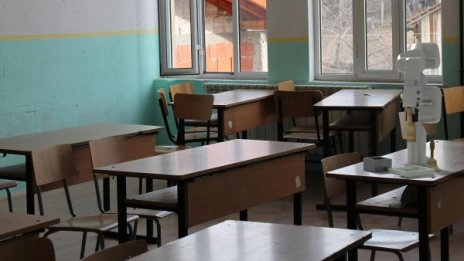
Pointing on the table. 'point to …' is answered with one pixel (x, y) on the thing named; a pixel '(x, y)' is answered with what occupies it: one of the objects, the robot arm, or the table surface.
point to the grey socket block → (377, 164)
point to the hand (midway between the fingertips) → (411, 121)
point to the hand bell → (432, 158)
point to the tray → (408, 172)
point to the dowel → (410, 126)
